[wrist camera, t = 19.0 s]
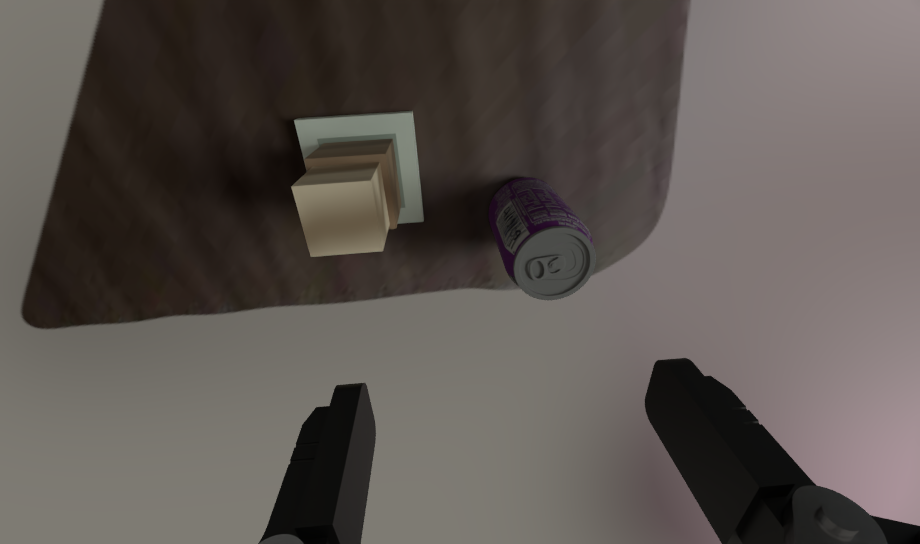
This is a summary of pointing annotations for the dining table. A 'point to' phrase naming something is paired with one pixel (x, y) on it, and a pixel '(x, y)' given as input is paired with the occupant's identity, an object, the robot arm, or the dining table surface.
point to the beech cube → (343, 208)
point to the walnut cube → (364, 154)
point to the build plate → (373, 128)
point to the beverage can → (540, 239)
